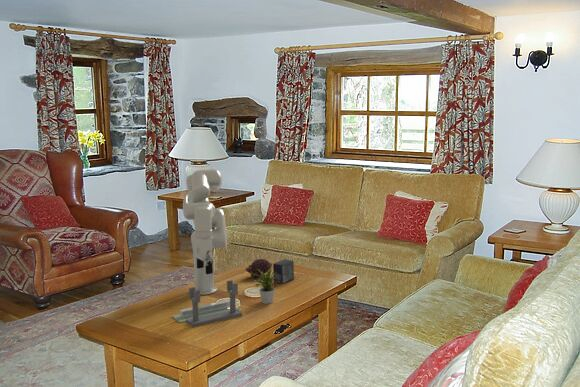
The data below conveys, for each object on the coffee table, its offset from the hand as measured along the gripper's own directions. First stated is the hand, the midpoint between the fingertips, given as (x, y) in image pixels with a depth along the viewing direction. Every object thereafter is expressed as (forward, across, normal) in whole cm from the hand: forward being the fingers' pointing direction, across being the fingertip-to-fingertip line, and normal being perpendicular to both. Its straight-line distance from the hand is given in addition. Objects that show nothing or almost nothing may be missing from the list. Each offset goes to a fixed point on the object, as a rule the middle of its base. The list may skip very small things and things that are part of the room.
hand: (204, 270), depth 272 cm
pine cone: (+21, -33, +47) cm, 61 cm away
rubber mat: (+20, +1, 0) cm, 20 cm away
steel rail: (+19, +1, 0) cm, 19 cm away
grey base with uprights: (+20, +10, 0) cm, 22 cm away
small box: (+21, -20, +54) cm, 61 cm away
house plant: (+20, +2, +31) cm, 37 cm away
